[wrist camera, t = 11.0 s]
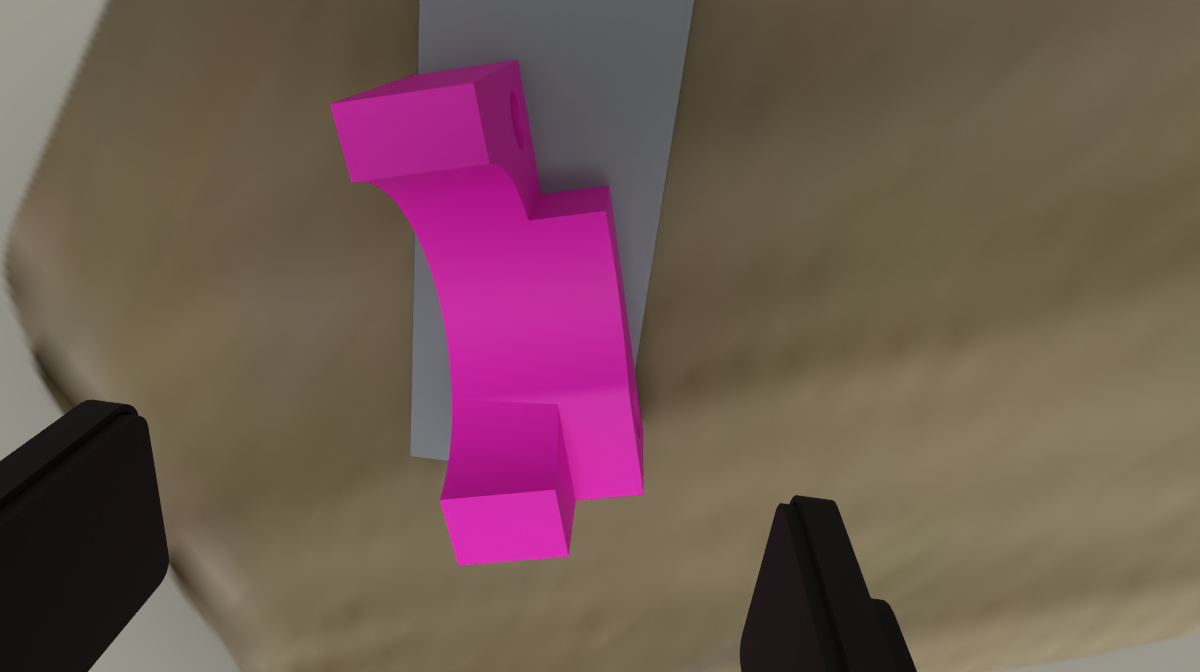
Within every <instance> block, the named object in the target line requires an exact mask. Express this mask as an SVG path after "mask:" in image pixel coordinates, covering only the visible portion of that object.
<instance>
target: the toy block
mask: <svg viewBox="0 0 1200 672" xmlns="http://www.w3.org/2000/svg"><path fill="white" fill-rule="evenodd" d="M330 106H331V110H332V114H333V117H334V121H335V124H336V128H337V132H338V135H339V139H340V142H341V146H342V150H343V153H344V157H345V160H346V164H347V168H348V171H349V175H350V178H351V182H352V183H353V182H360V181H361V182H368V183H371V184H374V185H376V186H378V187H379V188H381V189H382V190H384V191H385V192H386V193H387V194H388V195H389V196H390V197H391V198H392V199H393V200H394V201H395V202H396V203H397V204H398V206H399V207H400V208H401V210H402V211H403V213H404V214H405V216H406V217H407V219H408V221H409V222H410V224H411V226H412V228H413V229H414V231H415V233H416V235H417V237H418V240H419V242H420V244H421V246H422V249H423V251H424V254H425V256H426V259H427V262H428V264H429V267H430V270H431V273H432V276H433V280H434V283H435V287H436V290H437V294H438V298H439V302H440V307H441V311H442V316H443V321H444V327H445V332H446V339H447V346H448V353H449V363H450V375H451V393H452V424H451V442H450V452H449V460H448V467H447V473H446V478H445V483H444V487H443V491H442V495H441V498H440V502H441V505H442V509H443V512H444V516H445V520H446V523H447V527H448V530H449V534H450V537H451V541H452V545H453V548H454V552H455V555H456V559H457V563H458V565H466V564H479V563H491V562H504V561H517V560H529V559H542V558H554V557H567V556H569V548H570V541H571V533H572V525H573V517H574V509H575V501H576V500H587V499H599V498H610V497H621V496H633V495H644V494H643V426H642V418H641V411H640V404H639V397H638V389H637V382H636V375H635V368H634V360H633V353H632V346H631V339H630V331H629V324H628V317H627V310H626V302H625V295H624V288H623V280H622V273H621V266H620V259H619V251H618V244H617V237H616V230H615V222H614V215H613V208H612V201H611V193H610V186H609V185H608V186H601V187H593V188H585V189H578V190H570V191H562V192H554V193H547V194H541V188H540V182H539V177H538V171H537V165H536V160H535V154H534V148H533V143H532V137H531V131H530V126H529V120H528V114H527V108H526V103H525V97H524V91H523V86H522V80H521V74H520V69H519V63H518V60H511V61H504V62H498V63H491V64H484V65H478V66H471V67H464V68H457V69H451V70H444V71H437V72H431V73H424V74H417V75H411V76H408V77H405V78H403V79H400V80H397V81H394V82H391V83H388V84H385V85H383V86H380V87H377V88H374V89H371V90H368V91H366V92H363V93H360V94H357V95H354V96H351V97H348V98H346V99H343V100H340V101H337V102H334V103H331V104H330Z"/></svg>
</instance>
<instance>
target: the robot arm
mask: <svg viewBox="0 0 1200 672" xmlns="http://www.w3.org/2000/svg"><path fill="white" fill-rule="evenodd" d="M168 565H169V554H168V548H167V541H166V535H165V529H164V523H163V516H162V510H161V504H160V497H159V491H158V485H157V479H156V472H155V466H154V460H153V453H152V447H151V441H150V435H149V428H148V424H147V421H146V420H145V419H144V418H143V417H141V416H139V415H138V412H137V411H136V409H135V408H134V407H133V406H131V405H128V404H121V403H113V402H106V401H99V400H86V401H84V402H82V403H80V404H79V405H77V406H76V407H75V408H73V409H72V410H71V411H69V412H68V413H66V414H65V415H64V416H62V417H61V418H59V419H58V420H57V421H55V422H54V423H52V424H51V425H50V426H48V427H47V428H46V429H44V430H43V431H41V432H40V433H39V434H37V435H36V436H34V437H33V438H32V439H30V440H29V441H27V442H26V443H25V444H23V445H22V446H21V447H19V448H18V449H16V450H15V451H14V452H12V453H11V454H10V455H8V456H7V457H6V458H4V459H3V460H1V461H0V672H88V671H89V670H90V668H91V667H92V666H93V665H94V664H95V662H96V661H97V660H98V659H99V657H100V656H101V655H102V654H103V653H104V651H105V650H106V649H107V648H108V647H109V645H110V644H111V643H112V642H113V641H114V639H115V638H116V637H117V636H118V635H119V633H120V632H121V631H122V630H123V629H124V627H125V626H126V625H127V624H128V623H129V621H130V620H131V619H132V617H134V615H135V614H136V613H137V612H138V610H139V609H140V608H141V607H142V606H143V604H144V603H145V602H146V601H147V599H148V598H149V597H150V596H151V595H152V594H153V592H154V591H155V590H156V589H157V587H158V586H159V585H160V584H161V582H162V581H163V579H164V577H165V575H166V572H167V569H168ZM740 665H741V672H917V670H916V668H915V665H914V663H913V660H912V658H911V655H910V653H909V650H908V648H907V645H906V642H905V640H904V637H903V635H902V632H901V630H900V627H899V625H898V622H897V620H896V617H895V614H894V612H893V611H892V609H891V607H890V605H889V604H888V603H887V602H886V601H884V600H879V599H872V598H871V597H870V595H869V592H868V589H867V586H866V584H865V581H864V578H863V575H862V573H861V570H860V567H859V564H858V562H857V559H856V556H855V553H854V551H853V548H852V545H851V542H850V540H849V537H848V534H847V531H846V529H845V526H844V523H843V520H842V518H841V515H840V512H839V509H838V507H837V505H836V503H835V502H834V501H833V500H827V499H820V498H813V497H805V496H798V495H795V496H793V498H792V500H791V502H790V504H783V503H780V504H779V505H778V507H777V509H776V512H775V516H774V520H773V523H772V527H771V531H770V534H769V538H768V542H767V545H766V549H765V553H764V556H763V560H762V564H761V567H760V571H759V575H758V578H757V582H756V586H755V589H754V593H753V597H752V600H751V604H750V608H749V612H748V615H747V619H746V623H745V626H744V630H743V634H742V638H741V645H740Z"/></svg>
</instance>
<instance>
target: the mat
mask: <svg viewBox="0 0 1200 672" xmlns="http://www.w3.org/2000/svg"><path fill="white" fill-rule="evenodd" d="M693 6H694V0H420V3H419V53H418V74H424V73H431V72H437V71H444V70H451V69H457V68H464V67H471V66H478V65H484V64H491V63H498V62H504V61H511V60H518V63H519V69H520V74H521V80H522V86H523V91H524V97H525V103H526V108H527V114H528V120H529V126H530V131H531V137H532V143H533V148H534V154H535V160H536V165H537V171H538V177H539V182H540V188H541V194H547V193H554V192H562V191H570V190H578V189H585V188H593V187H601V186H608V185H609V186H610V193H611V201H612V208H613V215H614V222H615V230H616V237H617V244H618V251H619V259H620V266H621V273H622V280H623V288H624V295H625V302H626V310H627V317H628V324H629V331H630V339H631V346H632V353H633V360H634V368H636V361H637V355H638V349H639V343H640V336H641V330H642V324H643V318H644V311H645V305H646V299H647V293H648V287H649V280H650V274H651V268H652V262H653V255H654V249H655V243H656V237H657V230H658V224H659V218H660V212H661V205H662V199H663V193H664V187H665V181H666V174H667V168H668V162H669V156H670V149H671V143H672V137H673V131H674V124H675V118H676V112H677V106H678V100H679V93H680V87H681V81H682V75H683V68H684V62H685V56H686V50H687V43H688V37H689V31H690V25H691V19H692V12H693ZM451 424H452V393H451V375H450V363H449V353H448V346H447V339H446V332H445V327H444V321H443V316H442V311H441V307H440V302H439V298H438V294H437V290H436V287H435V283H434V280H433V276H432V273H431V270H430V267H429V264H428V262H427V259H426V256H425V254H424V251H423V249H422V246H421V244H420V242H419V240H418V237H417V235H416V233H415V255H414V306H413V356H412V407H411V456H415V457H423V458H430V459H438V460H446V461H448V460H449V452H450V442H451Z"/></svg>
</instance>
